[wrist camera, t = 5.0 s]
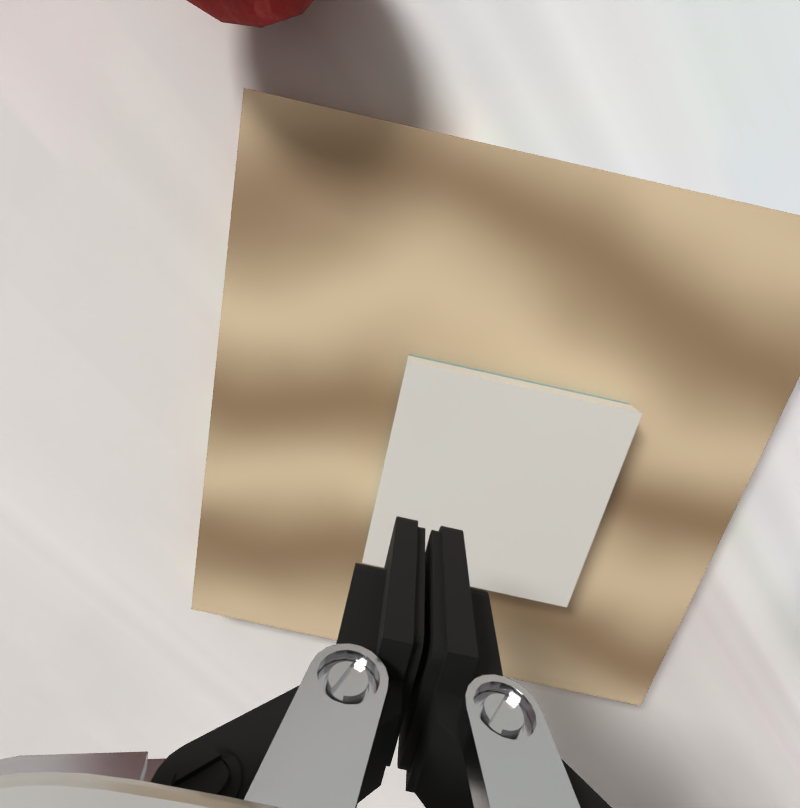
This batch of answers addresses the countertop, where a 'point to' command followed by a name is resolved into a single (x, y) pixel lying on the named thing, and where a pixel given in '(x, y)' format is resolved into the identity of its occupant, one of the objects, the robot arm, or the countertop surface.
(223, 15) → the onion
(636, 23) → the countertop surface
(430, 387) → the tile
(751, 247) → the board
